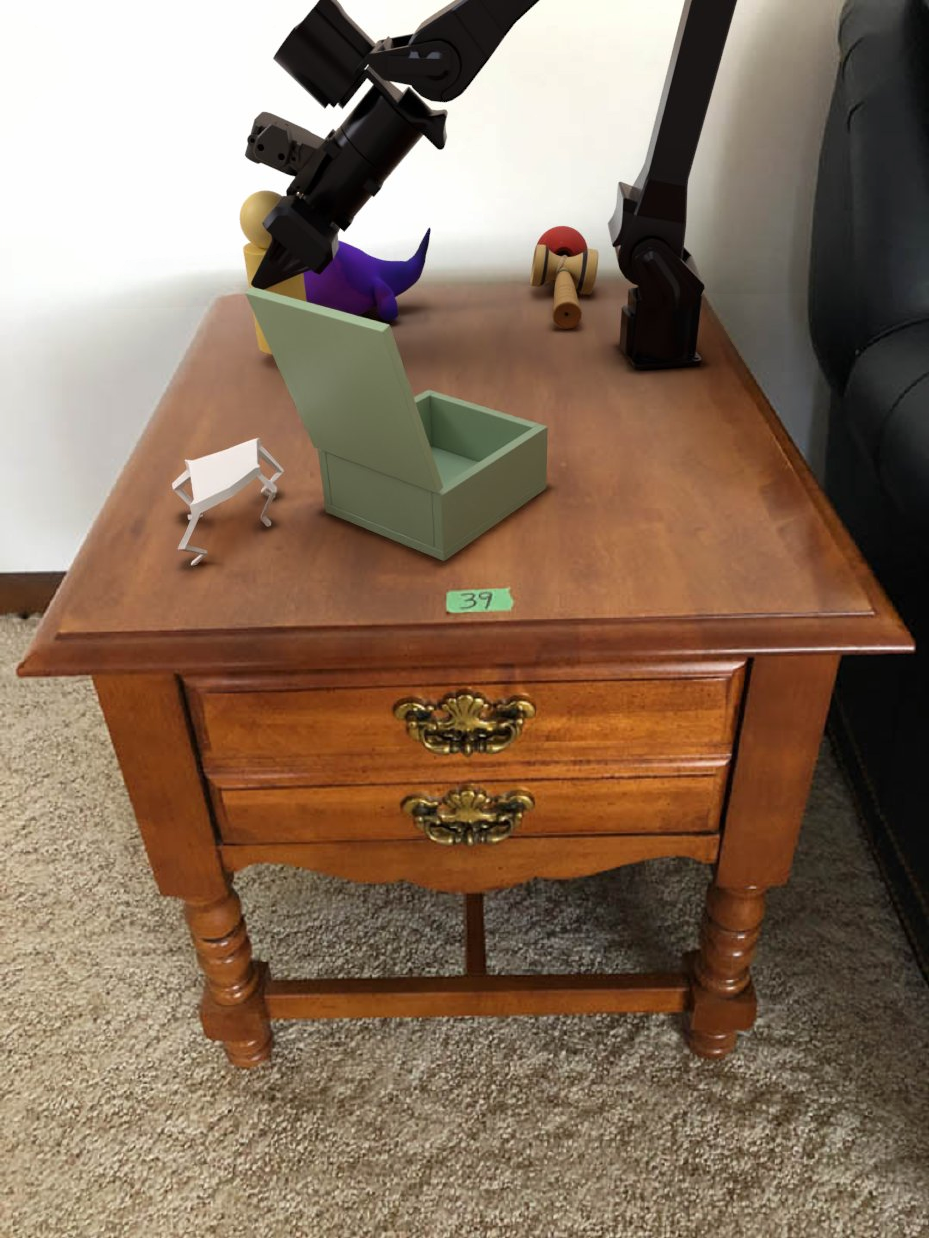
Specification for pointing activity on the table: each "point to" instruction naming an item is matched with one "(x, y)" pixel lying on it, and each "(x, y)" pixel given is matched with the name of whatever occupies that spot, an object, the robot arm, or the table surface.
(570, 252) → the kendama
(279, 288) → the toy figure
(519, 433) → the chest
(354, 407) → the chest lid
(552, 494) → the table surface
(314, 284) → the toy
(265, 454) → the white legged piece
